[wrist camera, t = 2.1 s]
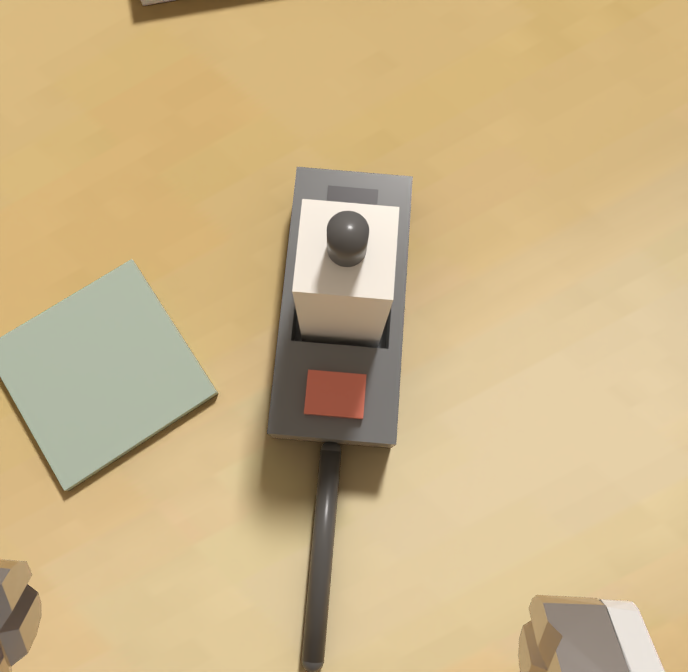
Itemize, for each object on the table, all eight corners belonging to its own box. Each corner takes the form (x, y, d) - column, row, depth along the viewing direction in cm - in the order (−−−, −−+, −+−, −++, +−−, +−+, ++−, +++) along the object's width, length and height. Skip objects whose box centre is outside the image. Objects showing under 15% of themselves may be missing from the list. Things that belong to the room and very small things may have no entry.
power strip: (376, 674, 33) (381, 696, 30) (247, 663, 33) (237, 683, 30) (406, 199, 40) (413, 172, 36) (299, 190, 40) (296, 162, 36)
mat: (68, 490, 35) (64, 490, 34) (-11, 349, 37) (-17, 347, 36) (218, 393, 36) (216, 391, 36) (134, 262, 38) (131, 259, 38)
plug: (377, 349, 37) (398, 285, 25) (302, 342, 37) (289, 276, 25) (382, 278, 38) (404, 186, 26) (309, 272, 38) (299, 177, 26)
